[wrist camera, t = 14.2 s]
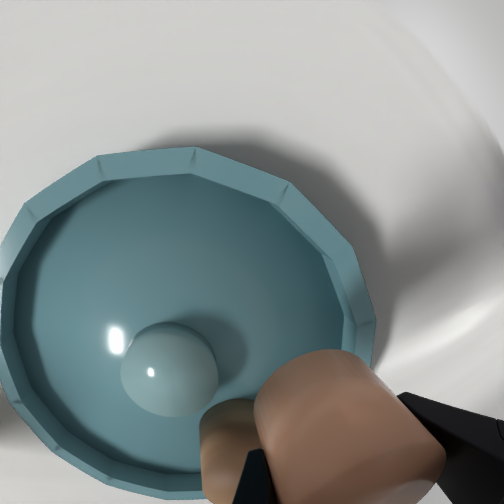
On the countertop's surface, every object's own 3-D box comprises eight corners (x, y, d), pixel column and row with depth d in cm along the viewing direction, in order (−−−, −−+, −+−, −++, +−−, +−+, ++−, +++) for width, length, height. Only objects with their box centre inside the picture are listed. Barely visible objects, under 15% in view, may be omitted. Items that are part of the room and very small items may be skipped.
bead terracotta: (374, 420, 10) (433, 499, 6) (269, 459, 10) (299, 557, 6) (367, 330, 9) (457, 410, 5) (238, 374, 9) (267, 494, 5)
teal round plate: (382, 396, 18) (400, 417, 16) (132, 494, 17) (129, 518, 15) (266, 90, 14) (279, 73, 11) (-38, 266, 13) (-64, 278, 10)
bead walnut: (229, 460, 16) (239, 517, 12) (183, 422, 15) (182, 484, 11) (288, 428, 16) (310, 484, 12) (246, 385, 15) (263, 445, 11)
